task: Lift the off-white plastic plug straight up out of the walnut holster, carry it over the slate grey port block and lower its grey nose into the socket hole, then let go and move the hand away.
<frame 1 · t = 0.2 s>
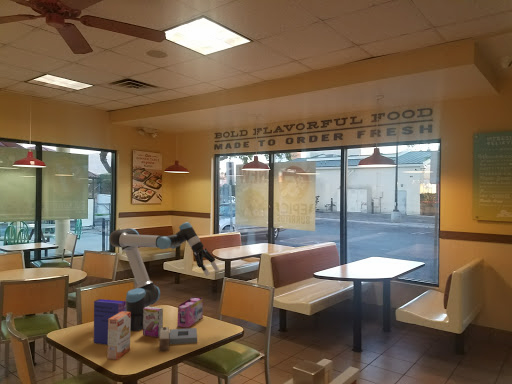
hand: (213, 272, 246), 36 cm above the table, tool tilted 35°, fingers open, 13 cm apart
cereal box: (109, 343, 223), on the table
gum box: (190, 322, 261), on the table
plug: (164, 347, 217), on the table
holster: (164, 347, 217), on the table
port block: (183, 338, 231), on the table
cracker box: (119, 354, 207), on the table
candy bar box: (152, 335, 236), on the table
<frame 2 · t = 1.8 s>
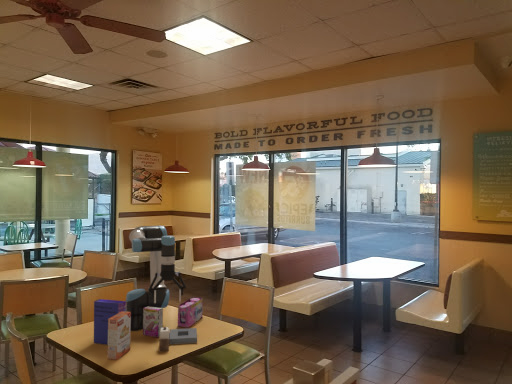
hand: (167, 301, 218), 25 cm above the table, tool pointing down, fingers open, 13 cm apart
nothing on the table moved.
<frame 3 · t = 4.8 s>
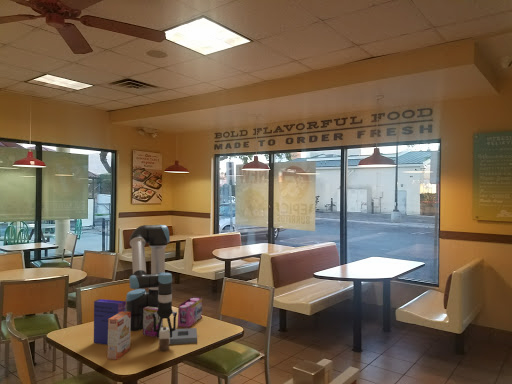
hand: (164, 343, 217), 2 cm above the table, tool pointing down, fingers closed on plug, 4 cm apart
plug: (164, 347, 217), on the table, touching gripper
everything else where it was.
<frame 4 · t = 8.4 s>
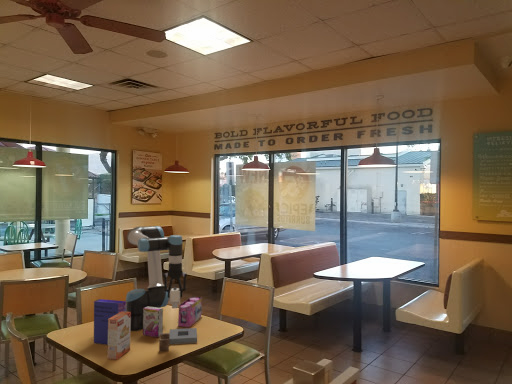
hand: (174, 303, 225), 23 cm above the table, tool pointing down, fingers closed on plug, 4 cm apart
plug: (174, 307, 225), point 20 cm above the table, touching gripper
everything else where it was.
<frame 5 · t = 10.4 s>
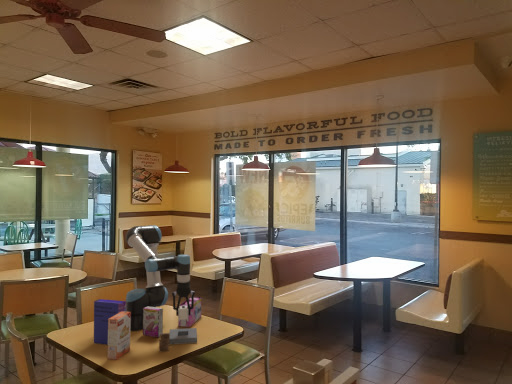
hand: (183, 320, 231), 10 cm above the table, tool pointing down, fingers closed on plug, 4 cm apart
plug: (183, 324, 231), point 8 cm above the table, touching gripper
when the fingers open (4 cm above the table, at t = 12.1 s): plug drops 2 cm, on the table.
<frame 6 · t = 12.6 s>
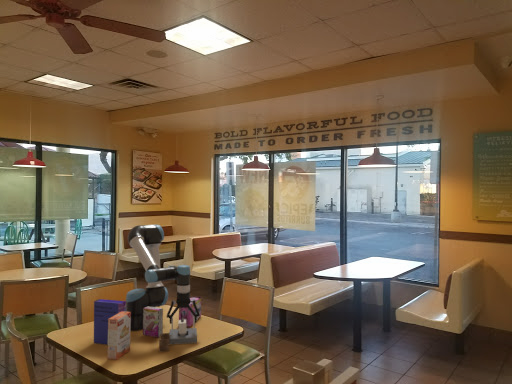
hand: (183, 328, 231), 6 cm above the table, tool pointing down, fingers open, 12 cm apart
plug: (182, 338, 231), on the table
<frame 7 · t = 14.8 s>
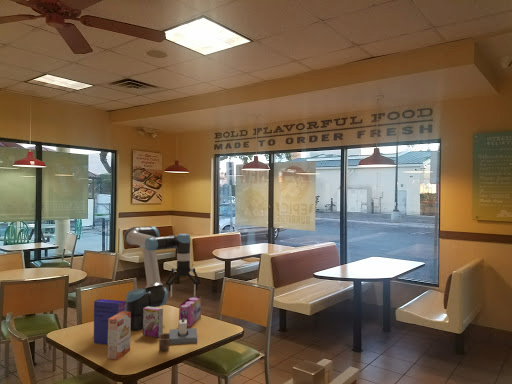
hand: (183, 296, 231), 25 cm above the table, tool pointing down, fingers open, 13 cm apart
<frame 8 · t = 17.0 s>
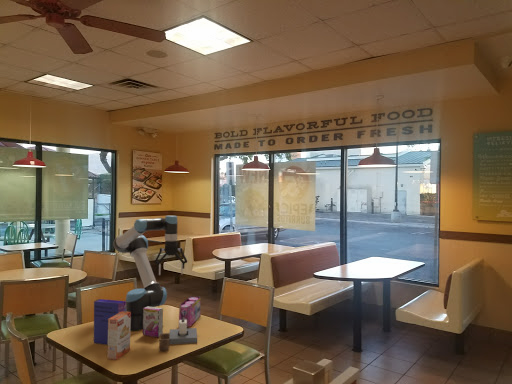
hand: (170, 274, 245), 35 cm above the table, tool pointing down, fingers open, 13 cm apart
at the end: plug 0.1 cm off-centre on the port block, point 0.0 cm above the port block's base; plug tilted 0°; the gripper is holding nothing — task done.
